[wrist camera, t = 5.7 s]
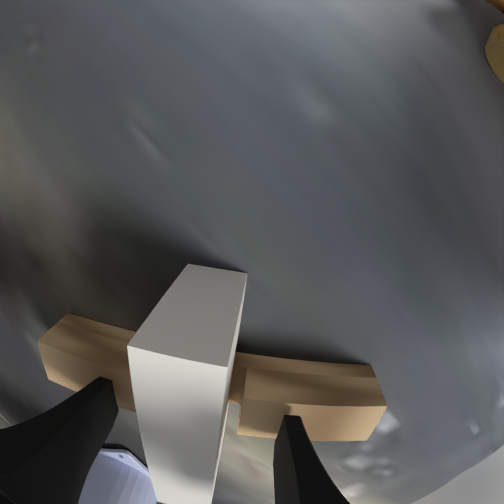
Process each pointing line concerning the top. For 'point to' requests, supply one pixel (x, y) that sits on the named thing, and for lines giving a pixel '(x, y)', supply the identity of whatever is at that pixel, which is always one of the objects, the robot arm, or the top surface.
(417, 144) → the top surface
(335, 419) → the wooden bar
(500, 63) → the kendama
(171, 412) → the white flat block
